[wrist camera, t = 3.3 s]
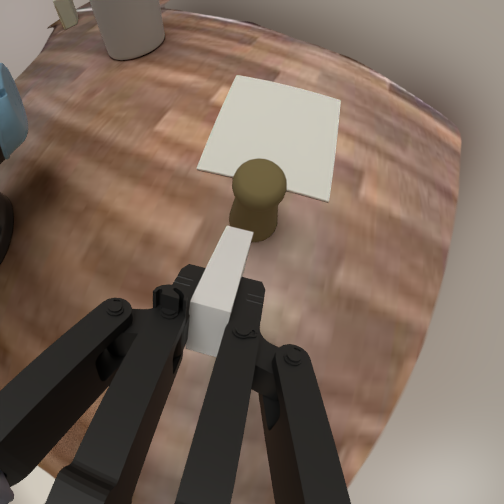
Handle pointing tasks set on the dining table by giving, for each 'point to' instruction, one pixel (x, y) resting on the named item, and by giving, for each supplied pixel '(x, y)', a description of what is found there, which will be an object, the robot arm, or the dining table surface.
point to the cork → (257, 197)
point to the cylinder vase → (129, 26)
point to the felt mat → (276, 134)
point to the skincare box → (66, 13)
